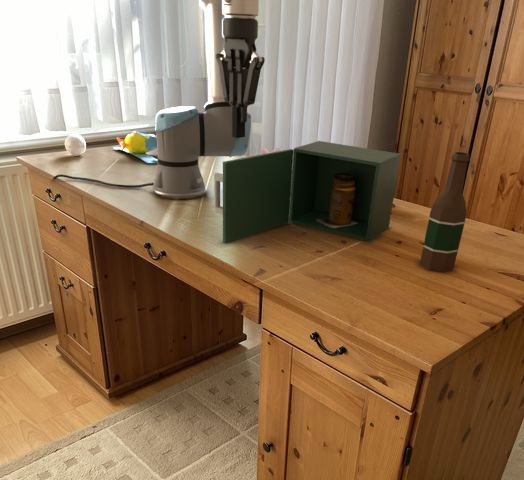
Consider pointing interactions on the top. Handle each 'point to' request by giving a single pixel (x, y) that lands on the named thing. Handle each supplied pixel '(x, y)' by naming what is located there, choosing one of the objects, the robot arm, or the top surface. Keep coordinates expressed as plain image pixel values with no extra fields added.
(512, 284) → the top surface
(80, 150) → the white egg
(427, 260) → the beer bottle
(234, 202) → the green cabinet door
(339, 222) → the condiment
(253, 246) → the top surface
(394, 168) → the green open cabinet
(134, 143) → the yellow and blue toy
